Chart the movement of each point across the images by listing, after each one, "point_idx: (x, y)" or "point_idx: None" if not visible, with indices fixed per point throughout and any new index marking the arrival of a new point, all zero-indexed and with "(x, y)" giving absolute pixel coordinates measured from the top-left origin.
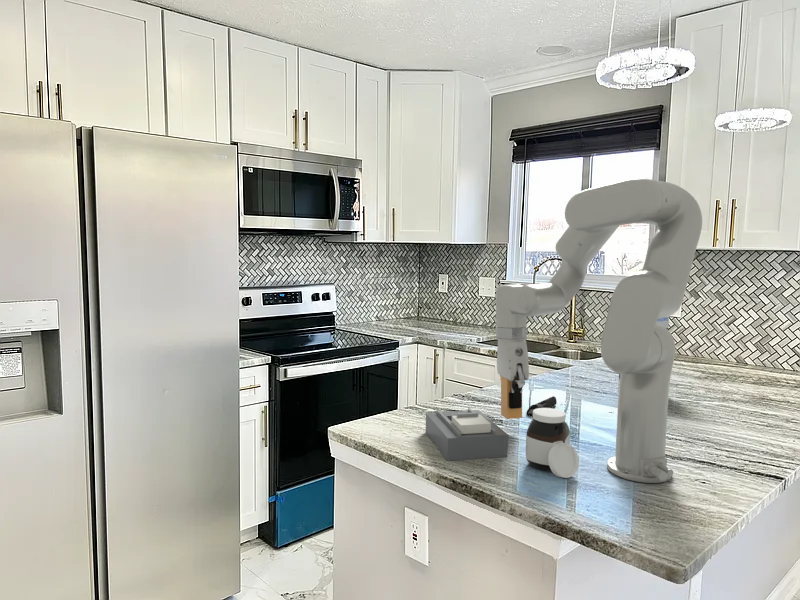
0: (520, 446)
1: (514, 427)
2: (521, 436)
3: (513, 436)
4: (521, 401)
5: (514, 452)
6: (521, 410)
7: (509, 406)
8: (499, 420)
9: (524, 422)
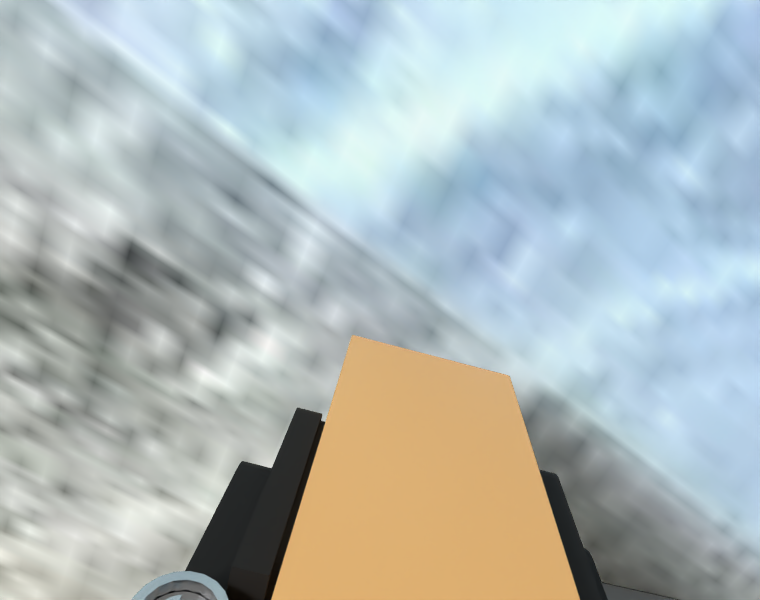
0: (676, 471)
1: (332, 268)
2: (529, 350)
3: None
4: (572, 527)
5: (726, 553)
6: (519, 425)
7: None
8: (131, 268)
9: (245, 95)
